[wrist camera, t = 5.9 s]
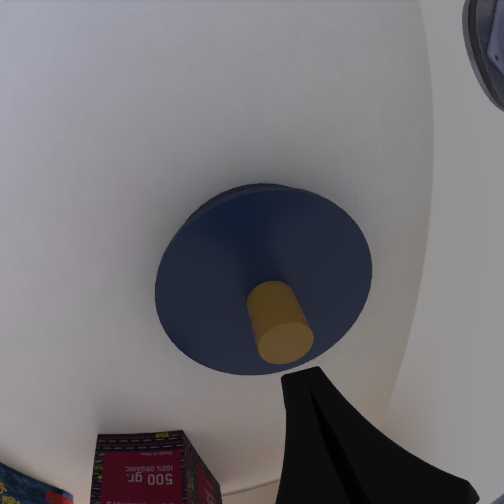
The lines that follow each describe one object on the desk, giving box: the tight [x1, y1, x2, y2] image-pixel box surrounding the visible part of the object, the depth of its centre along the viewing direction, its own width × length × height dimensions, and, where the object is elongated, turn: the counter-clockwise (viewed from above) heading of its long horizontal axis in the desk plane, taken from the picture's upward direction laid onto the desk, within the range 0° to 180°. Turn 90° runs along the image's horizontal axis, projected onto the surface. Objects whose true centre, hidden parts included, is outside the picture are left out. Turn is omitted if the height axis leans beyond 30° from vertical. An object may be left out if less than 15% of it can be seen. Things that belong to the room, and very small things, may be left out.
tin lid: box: [155, 186, 372, 375], centre depth 14 cm, size 11×11×4 cm
